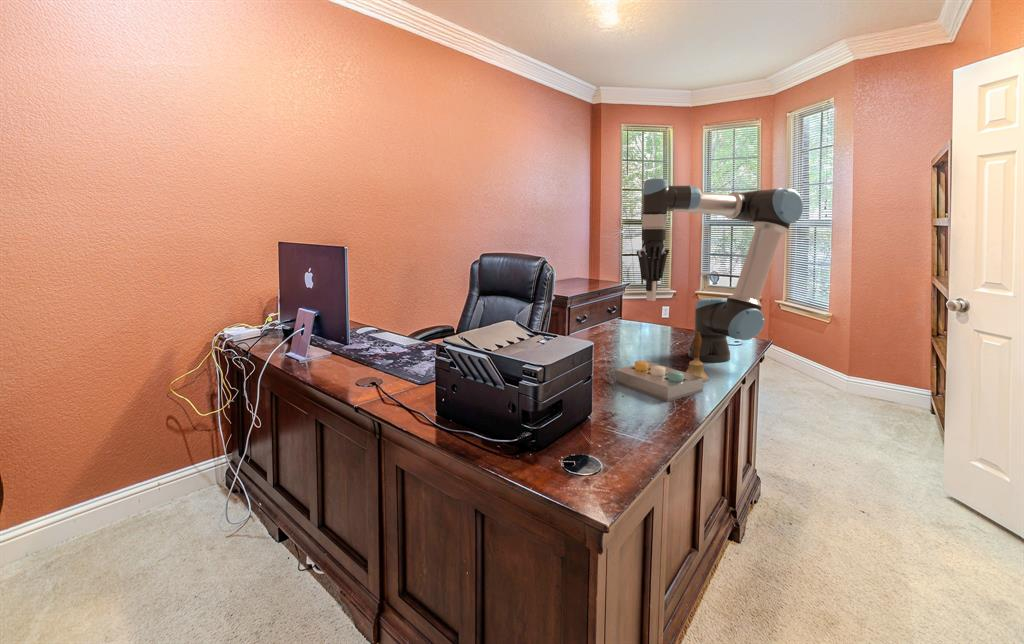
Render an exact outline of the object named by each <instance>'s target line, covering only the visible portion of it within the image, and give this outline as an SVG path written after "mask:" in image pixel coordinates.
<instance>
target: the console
mask: <svg viewBox="0 0 1024 644" xmlns="http://www.w3.org/2000/svg"><path fill="white" fill-rule="evenodd" d="M647 362H648V363H649V370H648V371H644V372H641V371H637V370H634V365H630V366H626V367H621V368H615V369H614V384H617V385H620V386H622V387H625V388H628V389H630V390H633V391H636V392H639V393H642V394H644V395H647V396H650V397H653V398H656V399H658V400H661V401H663V402H665V403H666V402H667V403H669V402H673V401H676V400H679V399H682V397H683V398H686V397H689V395H690V396H693V395H696V393H697V394H700V393H703V391H704V390H703V389H704V381H703V378H702V377H699V376H695V375H692V374H688V373H686V371H681V370H677V369H674V368H672V367H667V366H664V365H660V364H658V363H653V362H651V361H647ZM651 366H663V367H665V368H666V373H665V376H662V377H656V376H653V375H650V373H651ZM669 371H680V372H683V373H684V379H683V381H682V382H679V383H675V382H672V381H669V380H668V372H669Z"/></svg>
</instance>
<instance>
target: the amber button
mask: <svg viewBox="0 0 1024 644" xmlns="http://www.w3.org/2000/svg"><path fill="white" fill-rule="evenodd" d="M648 362H649V361H645V360H636V361H634V365H633V366H634V370H637V371H641V372H644V371H648V370H649V363H648Z"/></svg>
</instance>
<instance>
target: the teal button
mask: <svg viewBox="0 0 1024 644" xmlns="http://www.w3.org/2000/svg"><path fill="white" fill-rule="evenodd" d="M680 371H681V370H678V371H669V372H668V380H669V381H672V382H675V383H679V382H682V381H683V379H684V373H683V372H684V371H682V372H680Z"/></svg>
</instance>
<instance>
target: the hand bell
mask: <svg viewBox="0 0 1024 644" xmlns="http://www.w3.org/2000/svg"><path fill="white" fill-rule="evenodd" d="M693 336H694V335H693ZM693 338H694V339H693ZM693 338H692V341H693V346H694V359H693V360H690V361H689V363H688V367H687V370H686V371H685V373H688V374H692V375H695V376H699V377H702V378H703V382H706V380H707V381H708V380H709V377H708V375H707V374H706V372H705V369H704V363H703V361H700V360H699V350H700V347H701V336H700V332H696V333H695V336H694V337H693Z"/></svg>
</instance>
